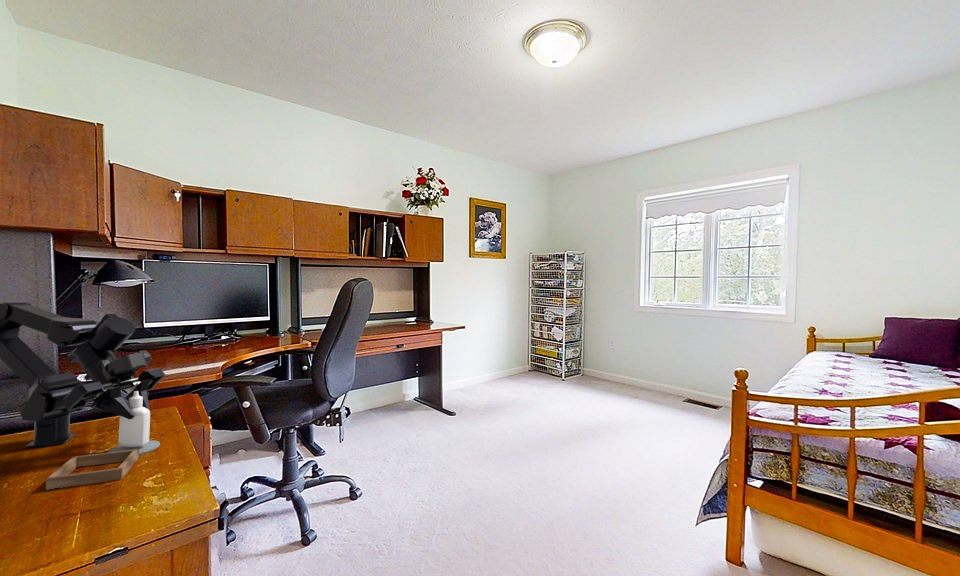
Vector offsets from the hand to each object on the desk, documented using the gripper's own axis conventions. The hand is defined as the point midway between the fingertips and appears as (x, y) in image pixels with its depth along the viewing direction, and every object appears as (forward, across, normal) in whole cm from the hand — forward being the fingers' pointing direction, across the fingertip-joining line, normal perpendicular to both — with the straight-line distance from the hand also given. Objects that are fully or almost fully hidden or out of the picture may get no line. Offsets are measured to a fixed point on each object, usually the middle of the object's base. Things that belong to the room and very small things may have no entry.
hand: (140, 415), depth 91 cm
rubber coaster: (+5, 0, +6) cm, 8 cm away
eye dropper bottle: (+4, 0, +6) cm, 7 cm away
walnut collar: (+7, -11, +4) cm, 14 cm away
